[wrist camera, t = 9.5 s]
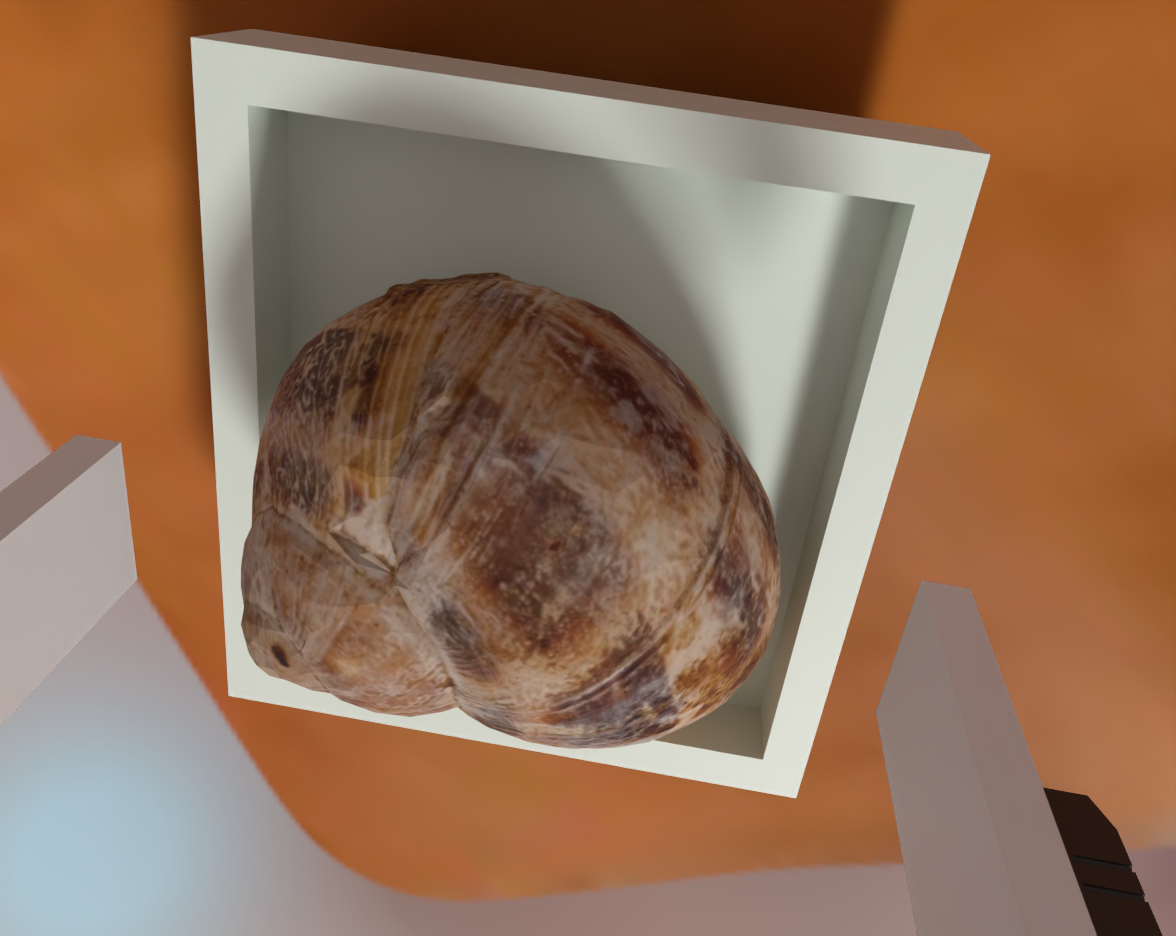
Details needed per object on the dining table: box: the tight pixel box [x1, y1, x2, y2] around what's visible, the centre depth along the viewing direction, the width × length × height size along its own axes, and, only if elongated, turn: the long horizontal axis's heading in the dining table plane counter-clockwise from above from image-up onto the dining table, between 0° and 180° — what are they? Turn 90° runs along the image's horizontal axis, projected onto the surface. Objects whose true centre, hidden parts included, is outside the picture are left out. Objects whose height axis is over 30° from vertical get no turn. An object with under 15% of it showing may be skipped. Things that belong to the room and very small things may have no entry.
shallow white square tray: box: [190, 29, 991, 798], centre depth 23 cm, size 15×14×5 cm
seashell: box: [241, 272, 781, 749], centre depth 20 cm, size 10×9×10 cm
